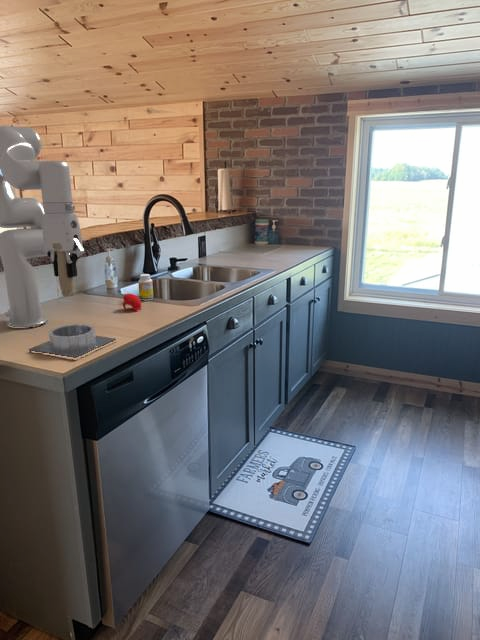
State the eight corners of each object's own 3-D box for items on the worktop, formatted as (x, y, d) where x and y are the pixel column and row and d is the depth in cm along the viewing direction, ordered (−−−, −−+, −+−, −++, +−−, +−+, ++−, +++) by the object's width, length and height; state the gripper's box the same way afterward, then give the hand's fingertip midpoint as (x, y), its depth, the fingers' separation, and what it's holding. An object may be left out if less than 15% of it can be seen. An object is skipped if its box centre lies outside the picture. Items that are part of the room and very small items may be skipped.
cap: (116, 301, 177) (122, 295, 173) (127, 293, 181) (133, 287, 177) (130, 318, 178) (136, 312, 174) (140, 309, 182) (147, 304, 178)
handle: (69, 298, 131) (62, 244, 127) (53, 296, 134) (46, 242, 130) (82, 295, 135) (77, 242, 131) (67, 292, 138) (61, 240, 134)
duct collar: (29, 352, 135) (26, 335, 133) (71, 334, 150) (70, 319, 148) (76, 360, 128) (74, 343, 127) (115, 341, 143) (114, 325, 142)
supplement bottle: (140, 298, 195) (138, 273, 192) (153, 297, 196) (152, 273, 193) (139, 301, 190) (137, 276, 187) (153, 301, 191) (151, 275, 188)
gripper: (92, 209, 128) (98, 276, 133) (45, 207, 134) (53, 271, 139) (72, 210, 121) (80, 281, 126) (24, 209, 128) (33, 276, 133)
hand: (65, 275), depth 133 cm, fingers closed on handle, 4 cm apart
